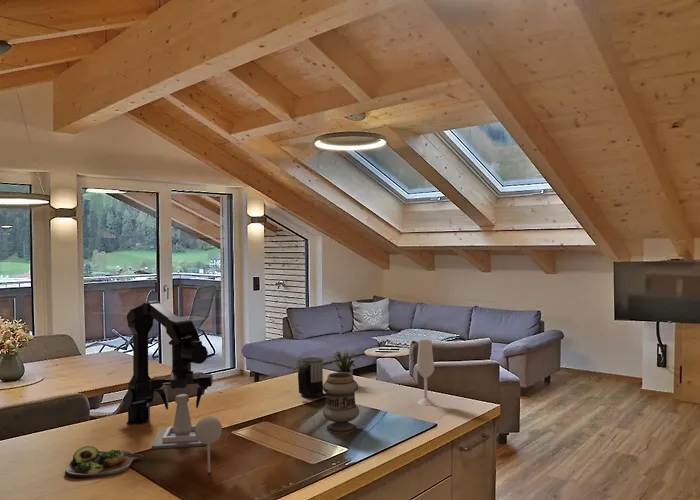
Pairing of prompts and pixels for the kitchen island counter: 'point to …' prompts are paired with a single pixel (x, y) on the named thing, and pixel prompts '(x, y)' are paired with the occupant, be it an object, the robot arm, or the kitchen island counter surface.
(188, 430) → the salt shaker
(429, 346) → the champagne flute
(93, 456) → the salad plate
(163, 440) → the socket board
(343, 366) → the house plant
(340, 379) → the apothecary jar
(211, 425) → the lollipop
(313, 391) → the milk frother
